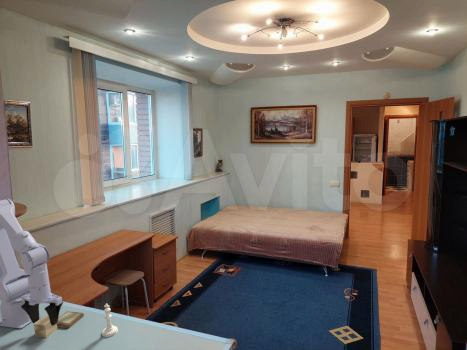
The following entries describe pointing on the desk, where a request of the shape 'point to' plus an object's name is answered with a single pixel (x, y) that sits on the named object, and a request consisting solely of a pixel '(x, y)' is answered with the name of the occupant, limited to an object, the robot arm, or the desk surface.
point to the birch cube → (44, 327)
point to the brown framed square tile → (69, 319)
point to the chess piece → (109, 324)
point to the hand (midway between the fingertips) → (45, 322)
